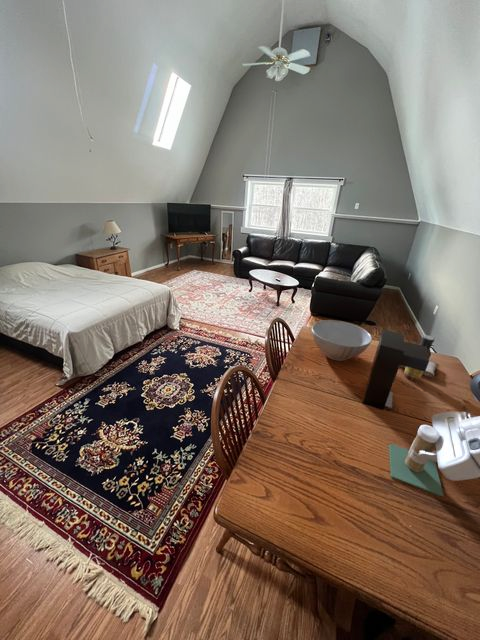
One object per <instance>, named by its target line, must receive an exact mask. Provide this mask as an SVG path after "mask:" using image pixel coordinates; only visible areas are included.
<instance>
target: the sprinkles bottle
mask: <svg viewBox="0 0 480 640" xmlns="http://www.w3.org/2000/svg"><path fill="white" fill-rule="evenodd" d="M439 437H440V434H439V432H438V431H437V430H436V429H435V428H433V426H431V425H429V424H421V425H420V426H419V428H418V430H417V434H416V436H415V438H414V439H413V441H412V444H411V446H410V448H409V449H408V450H409V453H408V456H407V458H406V459H405V464H406V465H407V466H408V468H410V469H411V470H413V471H415V472H421V471H423V467H424V466H425V464H426V462H427V460H428V459H427V460H422V459H421V458H420V457H419V450H425V451H426V452H430V453H432V451H434V447H435V443H436V442H437V441H438V439H439Z"/></svg>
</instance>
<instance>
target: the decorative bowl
mask: <svg viewBox="0 0 480 640" xmlns="http://www.w3.org/2000/svg"><path fill="white" fill-rule="evenodd" d="M311 335H312V338H313V341H314V343H315V345H316V347H317V348H318V349H319V350H320V351H321V352H322V353H323V355H324V356H325V357H327V358H328V359H330V360H334V361H339V362H343V361H347V359H348V360H349V359H352V358H356V357H358V356H359V355H361V354H363V353H364V352H365V351H366V350H367V349H368V347H369V346H370V345H371V344H372V341H373V337H372V335H371V333H370V332H368V331H367V330H366V329H364V328H363V327H361V326H359V325H357V324H355V323H351V322H347V321H342V320H334V319H327V320H326V319H325V320H319V321H317V322H315V323H314V324H312V326H311Z"/></svg>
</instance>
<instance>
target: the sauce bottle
mask: <svg viewBox="0 0 480 640" xmlns="http://www.w3.org/2000/svg"><path fill="white" fill-rule="evenodd" d="M435 340H436V339H435V338H434V337H433V336H431V335H429V334H428V335H427V334H424V335H423V336H422V337H421V340H420V343H419V345H422V346H426V347H427V352H428V357H429V359H430V358H431V356H432V352H431V348H432V345H433V344H434V342H435ZM422 374H423V371H421V370H417V369H413V368H410V367H406V368H404V372H403V375H404V377H405V378H406V379H408V380H410V381H413V382H416V381H419V380H421V378H422V376H423V375H422Z"/></svg>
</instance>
